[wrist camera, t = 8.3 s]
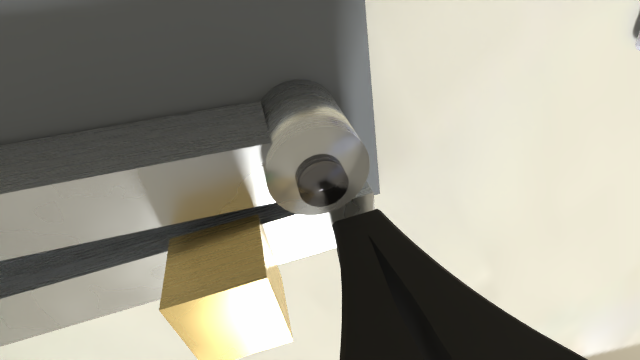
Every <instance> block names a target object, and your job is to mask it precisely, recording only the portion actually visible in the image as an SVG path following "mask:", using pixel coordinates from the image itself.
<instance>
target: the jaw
mask: <svg viewBox="0 0 640 360" xmlns="http://www.w3.org/2000/svg"><path fill="white" fill-rule="evenodd" d="M369 169H370V160H369V155H368V152H367V150H366V148H365V146H364V144H363V143H362V141H361V140H360V138H359V137H358V135H357V134H356V132H355V131H354V129H353V128H352V126H351V125H350V123H349V121H348V120H347V118H346V117H345V115H344V114H343V112H342V111H341V109H340V108H339V106H338V105H337V103H336V102H335V100H334V99H333V97H332V95H331V94H330V93H329V92H328V91H327V90H326V89H325V88H324V87H322V86H321V85H319V84H317V83H314V82H311V81H307V80H292V81H288V82H284V83H282V84H280V85H278V86H276V87H274V88H273V89H271V90H270V91H269V92H268V93H267V94H266V95H265V96H264V97H263V99H262V100H261V101H255V102H249V103H244V104H238V105H232V106H226V107H220V108H215V109H209V110H203V111H197V112H191V113H185V114H180V115H174V116H168V117H162V118H156V119H151V120H145V121H139V122H133V123H127V124H122V125H116V126H110V127H104V128H98V129H92V130H87V131H81V132H75V133H69V134H63V135H58V136H52V137H46V138H40V139H34V140H29V141H23V142H17V143H11V144H5V145H0V261H2V260H7V259H12V258H16V257H21V256H26V255H31V254H35V253H40V252H45V251H49V250H54V249H59V248H64V247H68V246H73V245H78V244H82V243H87V242H92V241H97V240H101V239H106V238H111V237H115V236H120V235H125V234H130V233H134V232H139V231H144V230H148V229H153V228H158V227H163V226H167V225H172V224H177V223H181V222H186V221H191V220H196V219H200V218H205V217H210V216H214V215H219V214H224V213H229V212H233V211H238V210H243V209H247V208H252V207H257V206H262V205H266V204H271V203H277V204H278V205H279V206H281V207H282V208H284V209H285V210H287V211H289V212H292V213H295V214H299V215H320V214H325V213H329V212H332V211H334V210H337V209H339V208H341V207H342V206H344V205H346V204H347V203H348V202H350V201H351V200H352V199H353V198H354V197H355V196H356V195H357V194H358V193H359V192H360V191H361V189H362V188H363V186H364V184H365V182H366V180H367V177H368V174H369Z"/></svg>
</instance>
